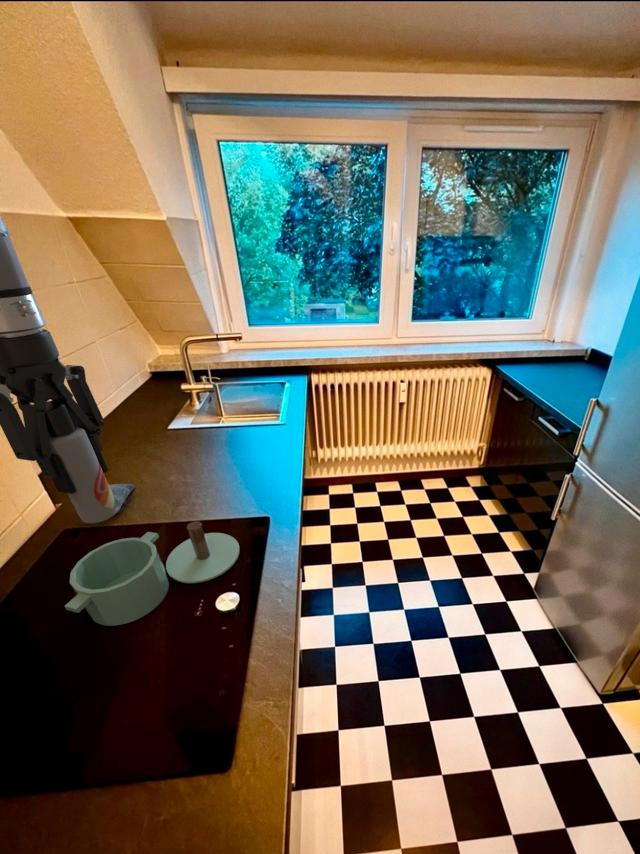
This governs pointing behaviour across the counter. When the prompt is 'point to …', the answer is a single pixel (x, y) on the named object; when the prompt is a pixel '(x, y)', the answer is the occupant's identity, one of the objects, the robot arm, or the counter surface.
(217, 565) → the lid
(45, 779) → the counter surface
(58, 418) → the lotion bottle
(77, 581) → the pot
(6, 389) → the robot arm
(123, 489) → the packaged food
